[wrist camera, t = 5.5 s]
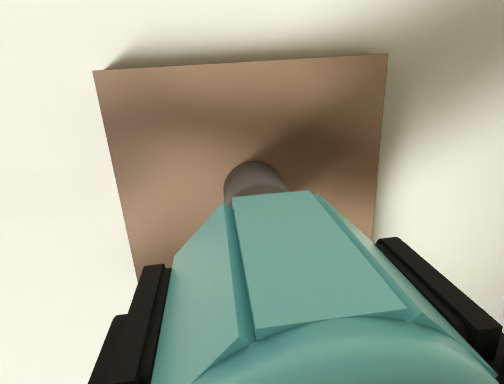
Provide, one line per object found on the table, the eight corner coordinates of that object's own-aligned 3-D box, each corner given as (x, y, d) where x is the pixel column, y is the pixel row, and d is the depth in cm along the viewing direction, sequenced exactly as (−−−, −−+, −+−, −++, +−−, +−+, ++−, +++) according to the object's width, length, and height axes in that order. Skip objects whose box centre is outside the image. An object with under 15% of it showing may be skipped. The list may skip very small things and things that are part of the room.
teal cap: (372, 184, 10) (602, 344, 4) (360, 343, 12) (498, 594, 6) (161, 204, 9) (86, 423, 3) (188, 368, 11) (168, 669, 6)
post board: (349, 376, 24) (415, 525, 17) (170, 402, 23) (150, 575, 15) (373, 54, 16) (522, 45, 9) (103, 70, 15) (-12, 76, 7)
